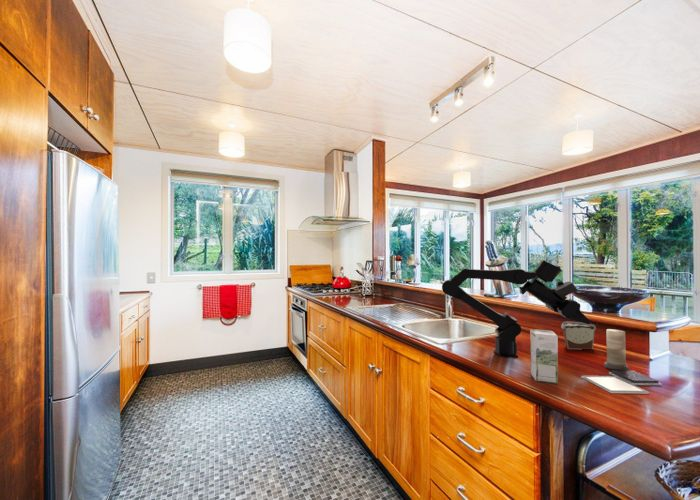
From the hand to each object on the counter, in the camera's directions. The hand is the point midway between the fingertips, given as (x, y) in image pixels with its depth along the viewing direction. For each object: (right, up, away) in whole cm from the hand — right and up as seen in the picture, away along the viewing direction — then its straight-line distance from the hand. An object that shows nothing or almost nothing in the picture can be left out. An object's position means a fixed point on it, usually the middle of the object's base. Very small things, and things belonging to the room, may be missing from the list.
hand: (584, 320), depth 100 cm
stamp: (+6, -15, -5) cm, 17 cm away
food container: (+11, -16, +18) cm, 26 cm away
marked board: (-6, -14, -18) cm, 24 cm away
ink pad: (+4, -15, -14) cm, 20 cm away
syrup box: (-24, -15, -14) cm, 31 cm away
